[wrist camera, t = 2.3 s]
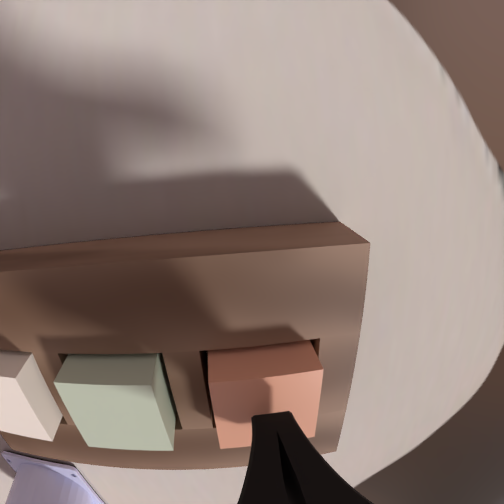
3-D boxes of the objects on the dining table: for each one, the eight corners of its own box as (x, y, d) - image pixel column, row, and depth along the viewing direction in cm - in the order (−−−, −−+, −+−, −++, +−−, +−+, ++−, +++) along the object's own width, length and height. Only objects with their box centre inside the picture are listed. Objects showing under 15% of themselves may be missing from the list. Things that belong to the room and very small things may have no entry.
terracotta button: (298, 391, 15) (314, 436, 12) (217, 401, 14) (220, 448, 12) (302, 325, 14) (323, 369, 11) (207, 334, 13) (208, 382, 10)
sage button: (176, 403, 14) (173, 450, 11) (101, 402, 14) (88, 446, 11) (160, 337, 13) (150, 385, 10) (76, 339, 13) (53, 382, 10)
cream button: (68, 400, 14) (52, 441, 11) (14, 394, 13) (-6, 429, 10) (41, 338, 12) (15, 378, 10) (-15, 336, 12) (-42, 369, 9)
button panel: (321, 415, 18) (336, 451, 15) (26, 419, 16) (11, 449, 13) (339, 221, 14) (370, 242, 11) (-45, 256, 12) (-77, 277, 9)
